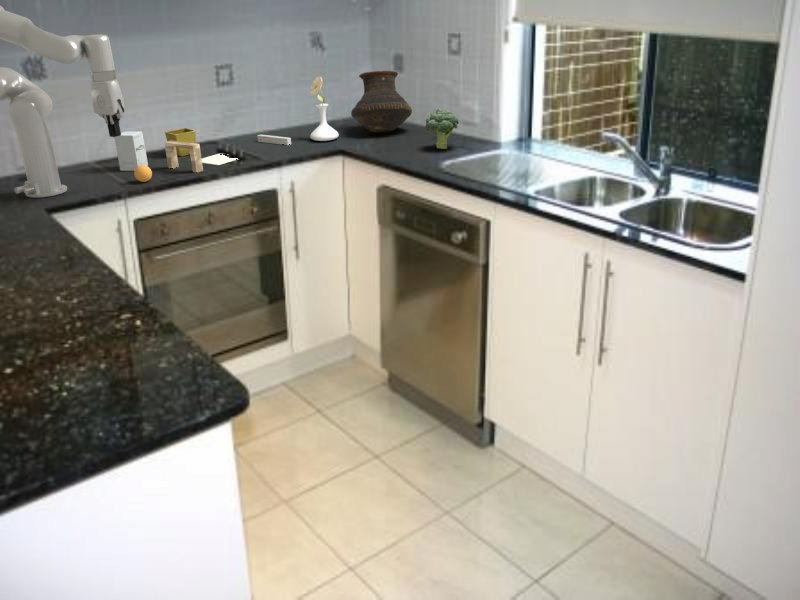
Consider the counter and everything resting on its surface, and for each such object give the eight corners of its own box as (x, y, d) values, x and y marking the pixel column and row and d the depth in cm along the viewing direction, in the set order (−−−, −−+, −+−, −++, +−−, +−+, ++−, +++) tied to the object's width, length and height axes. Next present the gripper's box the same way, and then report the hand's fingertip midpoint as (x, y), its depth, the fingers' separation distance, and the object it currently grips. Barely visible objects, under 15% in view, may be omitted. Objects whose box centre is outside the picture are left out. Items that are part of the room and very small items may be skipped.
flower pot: (178, 158, 292) (174, 134, 288) (167, 155, 298) (164, 131, 294) (199, 154, 297) (196, 130, 293) (188, 151, 303) (185, 127, 299)
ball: (143, 184, 258) (140, 168, 256) (132, 182, 261) (129, 166, 259) (156, 180, 262) (153, 164, 260) (145, 178, 265) (142, 162, 263)
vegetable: (451, 143, 295) (450, 103, 289) (464, 150, 284) (464, 108, 278) (421, 147, 292) (420, 106, 286) (433, 154, 281) (432, 112, 275)
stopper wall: (287, 145, 305) (287, 138, 304) (257, 141, 313) (257, 135, 312) (291, 144, 306) (290, 137, 305) (261, 140, 315) (260, 134, 314)
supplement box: (138, 171, 276) (132, 135, 271) (119, 170, 277) (113, 135, 272) (149, 166, 283) (142, 131, 278) (130, 165, 284) (124, 131, 279)
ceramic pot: (352, 127, 302) (348, 68, 301) (352, 137, 326) (348, 83, 325) (415, 123, 303) (411, 65, 302) (410, 134, 328) (407, 79, 326)
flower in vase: (310, 137, 316) (304, 74, 306) (338, 136, 317) (333, 72, 307) (310, 144, 304) (304, 78, 294) (339, 142, 305) (335, 76, 295)
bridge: (196, 172, 270) (192, 145, 267) (168, 168, 278) (164, 142, 274) (203, 170, 272) (199, 144, 269) (174, 166, 280) (170, 140, 276)
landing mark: (218, 165, 279) (218, 164, 279) (193, 161, 286) (193, 161, 286) (244, 157, 289) (244, 156, 289) (219, 154, 296) (219, 153, 295)
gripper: (78, 77, 242) (90, 136, 250) (109, 79, 235) (121, 140, 242) (98, 74, 248) (110, 132, 255) (129, 75, 240) (140, 135, 248)
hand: (115, 135), depth 249 cm, fingers closed
